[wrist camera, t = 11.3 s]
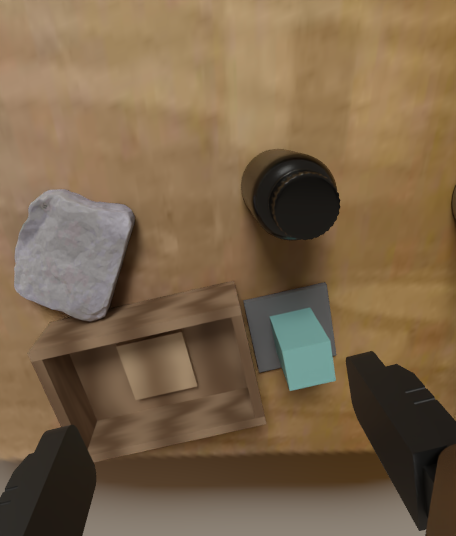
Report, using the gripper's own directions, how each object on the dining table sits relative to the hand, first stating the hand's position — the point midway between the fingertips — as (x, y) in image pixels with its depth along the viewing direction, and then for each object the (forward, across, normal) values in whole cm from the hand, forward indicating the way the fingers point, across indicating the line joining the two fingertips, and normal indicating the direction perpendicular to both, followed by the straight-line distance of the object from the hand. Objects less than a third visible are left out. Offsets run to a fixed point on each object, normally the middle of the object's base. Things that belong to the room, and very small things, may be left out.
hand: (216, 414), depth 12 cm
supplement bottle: (+30, -8, 0) cm, 30 cm away
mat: (+29, -6, +15) cm, 34 cm away
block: (+29, -6, +15) cm, 33 cm away
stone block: (+30, +13, +1) cm, 33 cm away
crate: (+30, +9, +15) cm, 34 cm away
